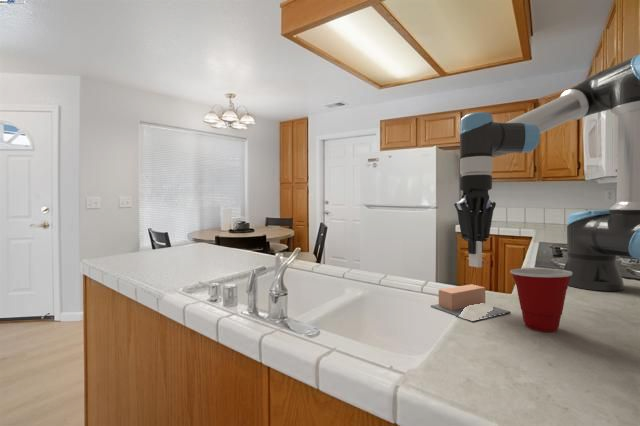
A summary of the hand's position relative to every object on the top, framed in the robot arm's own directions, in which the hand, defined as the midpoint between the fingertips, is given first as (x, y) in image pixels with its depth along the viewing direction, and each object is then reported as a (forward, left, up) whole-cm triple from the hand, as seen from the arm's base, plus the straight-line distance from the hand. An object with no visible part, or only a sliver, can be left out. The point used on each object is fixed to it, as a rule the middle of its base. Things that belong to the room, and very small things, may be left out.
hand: (475, 266), depth 84 cm
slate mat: (+6, +3, -10) cm, 12 cm away
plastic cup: (+3, +17, -10) cm, 20 cm away
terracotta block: (-1, 0, -7) cm, 7 cm away
